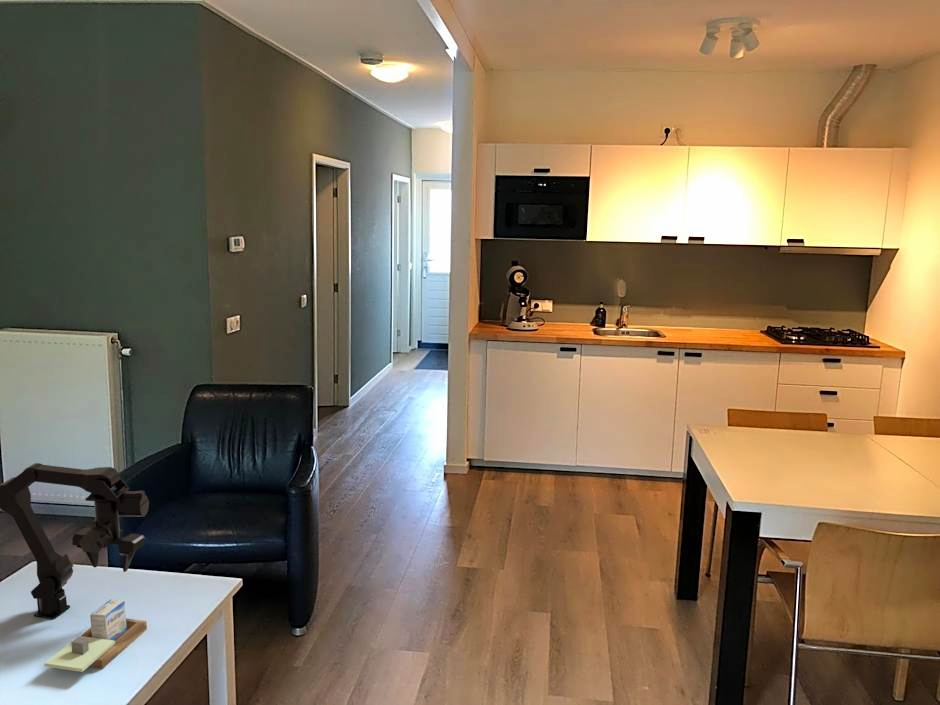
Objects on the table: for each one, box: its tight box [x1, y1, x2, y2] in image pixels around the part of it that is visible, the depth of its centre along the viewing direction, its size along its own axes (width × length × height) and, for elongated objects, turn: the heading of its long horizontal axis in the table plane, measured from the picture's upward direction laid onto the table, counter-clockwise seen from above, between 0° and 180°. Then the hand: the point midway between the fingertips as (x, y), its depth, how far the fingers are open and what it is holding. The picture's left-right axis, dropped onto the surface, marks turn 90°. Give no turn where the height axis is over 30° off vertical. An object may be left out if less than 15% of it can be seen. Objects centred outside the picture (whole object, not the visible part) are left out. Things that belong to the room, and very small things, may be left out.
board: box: [80, 617, 148, 670], centre depth 192 cm, size 12×18×2 cm, turn 169°
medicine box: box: [89, 599, 127, 641], centre depth 194 cm, size 8×4×9 cm, turn 169°
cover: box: [43, 635, 115, 673], centre depth 183 cm, size 10×12×4 cm
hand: (110, 569), depth 205 cm, fingers open, 9 cm apart
